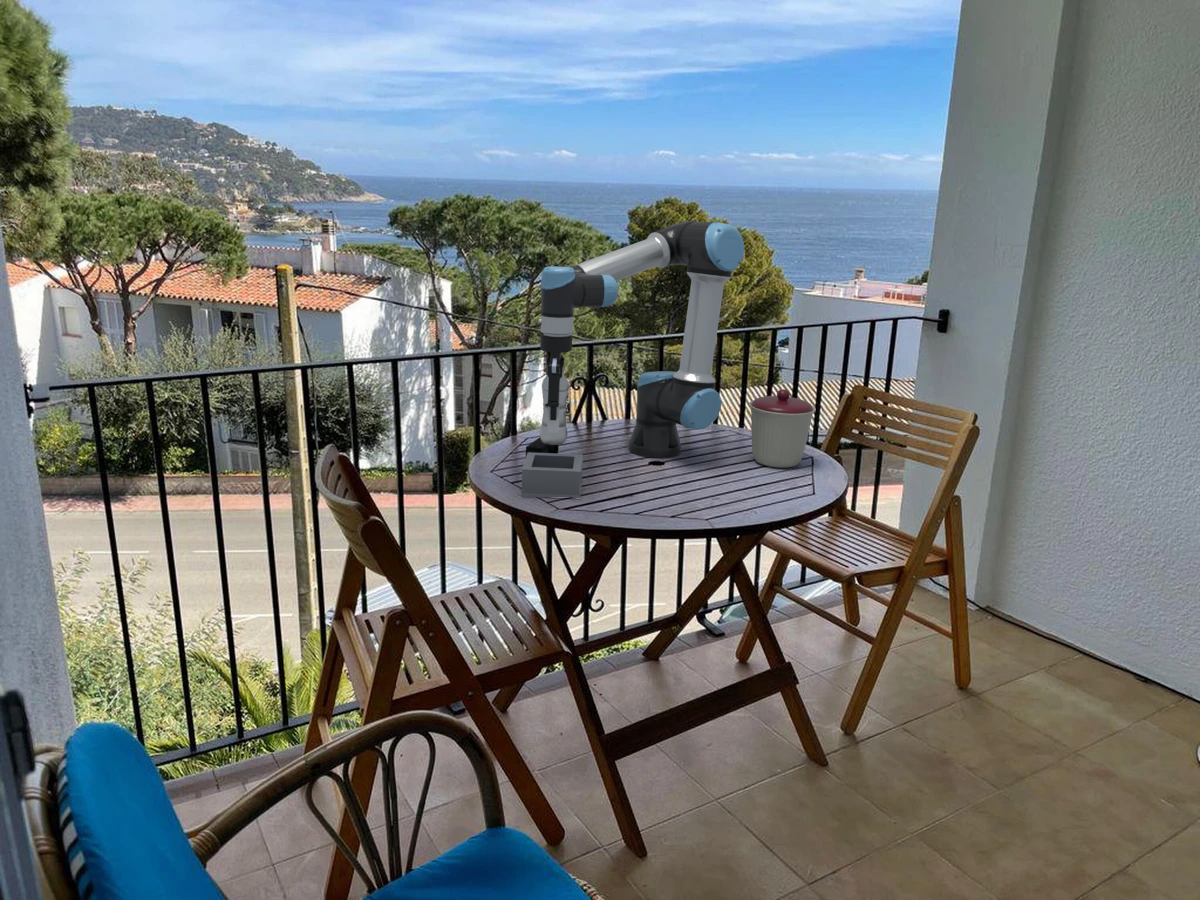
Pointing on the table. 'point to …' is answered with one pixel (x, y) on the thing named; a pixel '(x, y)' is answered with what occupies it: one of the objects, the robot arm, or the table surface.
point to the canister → (780, 429)
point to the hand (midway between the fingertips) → (554, 428)
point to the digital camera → (541, 447)
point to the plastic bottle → (563, 393)
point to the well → (552, 475)
